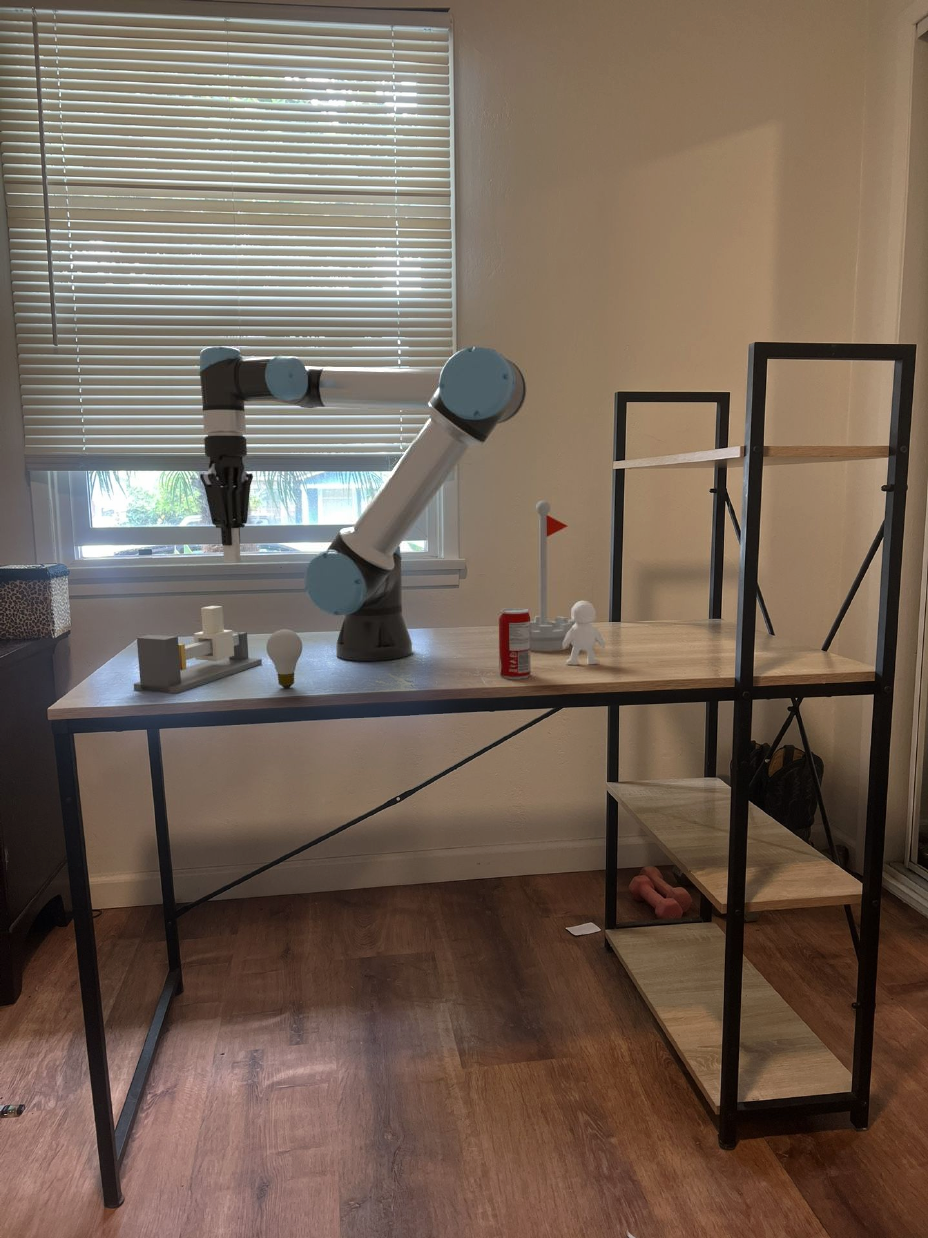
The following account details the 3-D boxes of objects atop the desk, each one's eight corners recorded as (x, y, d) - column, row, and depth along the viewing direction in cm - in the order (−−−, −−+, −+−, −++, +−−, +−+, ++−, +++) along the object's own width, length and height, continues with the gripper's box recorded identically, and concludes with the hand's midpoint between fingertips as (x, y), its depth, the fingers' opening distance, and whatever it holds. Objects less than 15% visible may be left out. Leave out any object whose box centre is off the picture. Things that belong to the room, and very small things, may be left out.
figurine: (563, 667, 153) (563, 602, 151) (559, 662, 158) (559, 599, 156) (606, 666, 154) (607, 601, 152) (601, 661, 158) (602, 598, 156)
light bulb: (271, 684, 144) (268, 627, 142) (306, 683, 144) (303, 626, 143) (266, 692, 138) (263, 633, 137) (302, 691, 139) (299, 632, 137)
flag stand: (503, 650, 171) (501, 501, 166) (523, 638, 182) (522, 500, 178) (564, 654, 166) (565, 501, 161) (581, 642, 177) (582, 499, 173)
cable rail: (261, 664, 161) (259, 617, 159) (176, 693, 139) (172, 640, 137) (223, 661, 164) (220, 615, 163) (134, 689, 142) (129, 637, 141)
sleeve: (234, 655, 156) (231, 605, 155) (217, 661, 151) (213, 609, 150) (213, 654, 158) (209, 604, 156) (195, 659, 153) (192, 608, 152)
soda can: (508, 671, 151) (508, 605, 149) (535, 674, 148) (535, 607, 146) (493, 677, 146) (493, 609, 144) (521, 681, 144) (521, 611, 142)
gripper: (230, 437, 162) (237, 559, 166) (184, 434, 150) (193, 565, 154) (262, 436, 159) (269, 560, 163) (219, 432, 147) (227, 566, 151)
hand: (232, 562), depth 158 cm, fingers closed
